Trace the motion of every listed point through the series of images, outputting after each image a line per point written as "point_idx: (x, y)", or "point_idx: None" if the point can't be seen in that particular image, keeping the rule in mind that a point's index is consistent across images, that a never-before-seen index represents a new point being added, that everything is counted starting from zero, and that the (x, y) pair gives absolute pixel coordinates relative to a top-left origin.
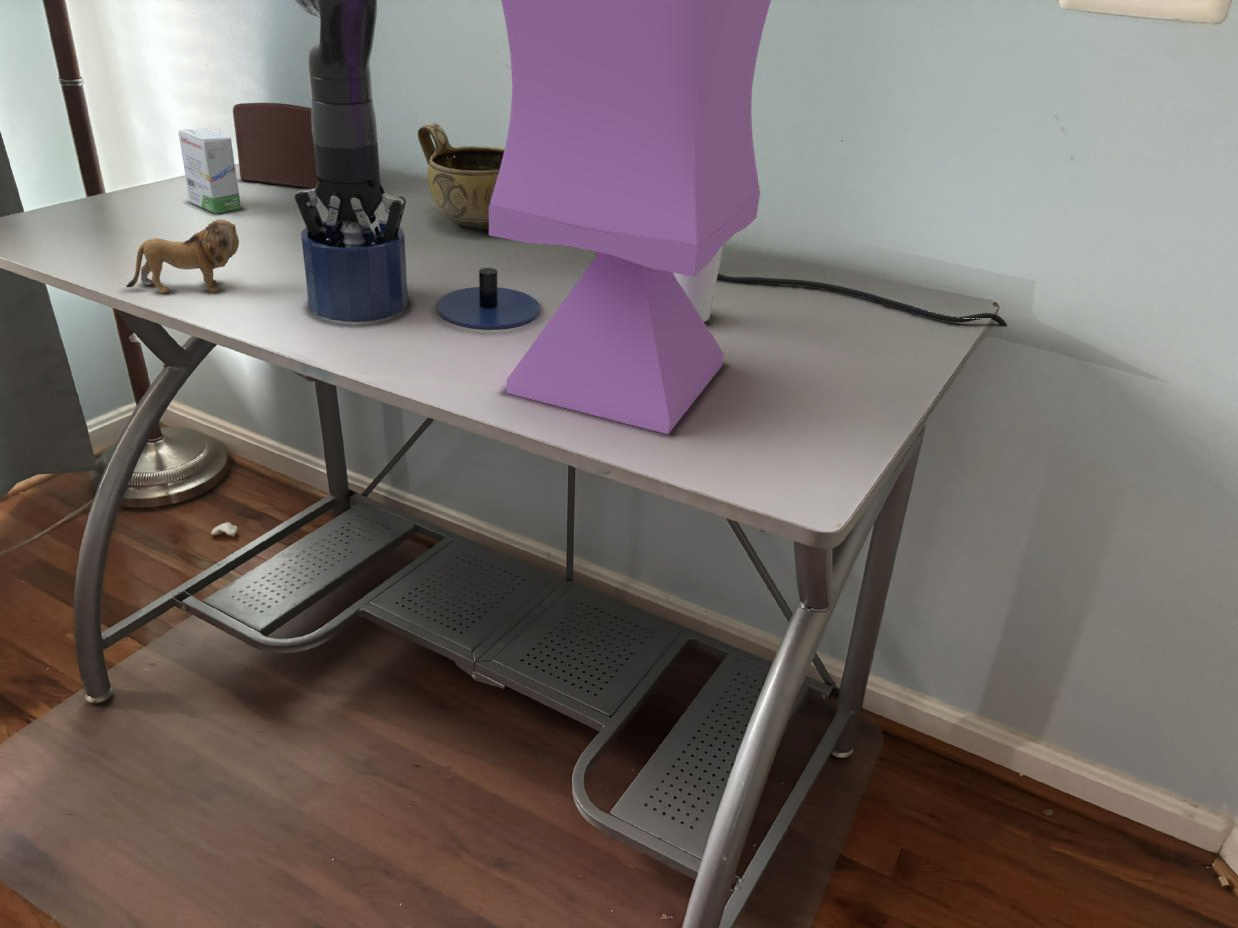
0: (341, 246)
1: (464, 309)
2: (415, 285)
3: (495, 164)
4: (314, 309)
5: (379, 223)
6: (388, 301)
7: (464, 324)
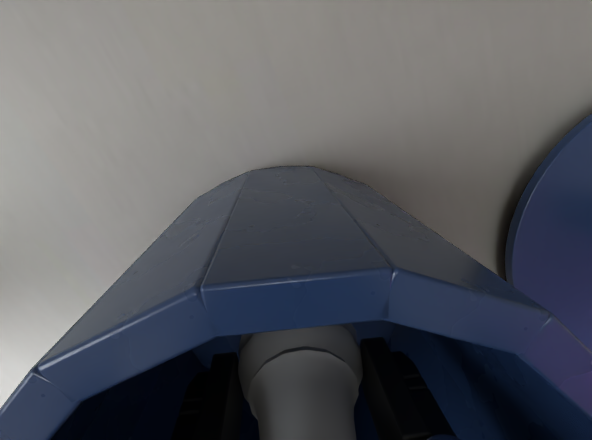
0: (221, 435)
1: (588, 280)
2: (397, 78)
3: None
4: None
5: (429, 329)
6: None
7: None
